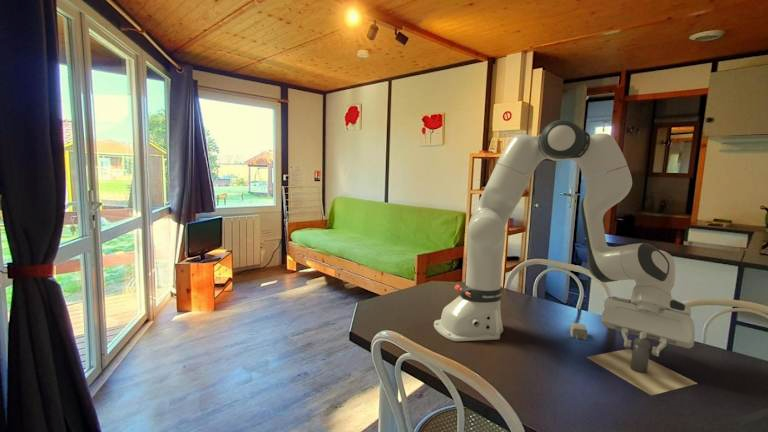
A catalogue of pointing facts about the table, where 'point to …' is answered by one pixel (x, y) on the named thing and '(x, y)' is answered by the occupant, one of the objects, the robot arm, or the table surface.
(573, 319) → the table surface
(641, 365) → the dark bottle
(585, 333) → the usb wall charger
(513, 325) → the table surface
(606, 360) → the birch board
